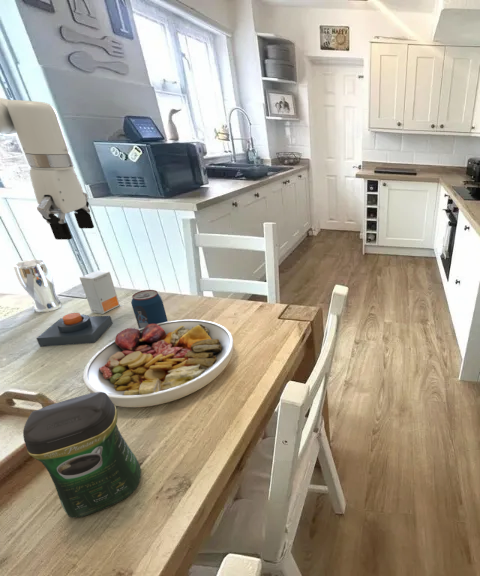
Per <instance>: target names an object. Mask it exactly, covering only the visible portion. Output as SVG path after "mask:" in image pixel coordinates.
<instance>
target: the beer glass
mask: <svg viewBox="0 0 480 576" xmlns="http://www.w3.org/2000/svg"><path fill="white" fill-rule="evenodd" d="M12 265H13V268H14V269H13V270H14V272H15V276H16V277H17V279H18V282H19V283H20V286H22V288H23V290H24V291H25V292H26V293H27V294H28V296H29V297H30V298H31V300H32V303H33V307H34V311H35V312H36V313H40V312H42V314H43V313H49V311H50V312H54V311H56V310H58V309H61V308H62V306H63V303H62V302H61V300H60V299H59V297H58V296H57V292H56V287H55V281H54V276H53V274H52V271H51V269H50V267H49V265H48V264H47V261H46V260H45V259H42V258H33V259H27V260H26V259H25V260H21V261H18V262H16V263H14V264H12Z"/></svg>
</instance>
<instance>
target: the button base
mask: <svg viewBox="0 0 480 576" xmlns="http://www.w3.org/2000/svg"><path fill="white" fill-rule="evenodd" d="M80 315H81V317H82V321H81V322H78V323H75V324H71V325H65V323H64V321H63V317H61V318H59V319H58V320H57V321H56V322H54V323H53V324H52V325H50V326H49V327H48V328H46V330H44V331H42V333H41V334H40V335H38V336H37V337H36V341H37V343H38V345H39V347H41V348H42V347H55V346H72V345H84V344H85V345H87V344H95V343H96V342H97V341H98V340H99V339H100V338H101V337H102V336H103V334H105V333H106V331H107V330H108V329H109V328H110V327H111V326H112V325H113V323H114V321H113V319H112V317H111V315H96V316H95V315H94V316H93V315H92V316H90V315H87V314H84V313H83V314H81V313H80Z"/></svg>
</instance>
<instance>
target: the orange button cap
mask: <svg viewBox="0 0 480 576" xmlns="http://www.w3.org/2000/svg"><path fill="white" fill-rule="evenodd" d="M62 318H63V321H64V323H65V325H71V324H75V323H78V322H81V321H82V317H81V313H80V312H71V313H68V314H65V315H64V316H62Z"/></svg>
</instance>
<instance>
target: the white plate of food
mask: <svg viewBox="0 0 480 576" xmlns="http://www.w3.org/2000/svg"><path fill="white" fill-rule="evenodd" d="M234 345H235V344H234V338H233V334H231V332H230V330H228V329H227V328H226V327H225V326H223V325H222V324H219V323H217V322H214V321H211V320H210V321H209V320H203V319H178V320H169V321H168V322H164V323H159V324H153V323H152V324H149V325H147V326H146V327H144V328H141V329H139V328H135V327H129V328H125V329H123V330H121V331H120V332H119V333H117V334H116V336H115V339H114V340H113V341H111V342H109V343H107V344H106V345H105V346H103V347H102V348H101V349H99V350H98V351H97V352H96V353H95V354H94V355H93V356H92V357H91V358H90V359H89V361H88V362H87V364H86V366H84V370H83V375H82V378H83V382H84V385H85V387H86V390H87V391H88V392H89V394H90V393H95V392H104V393H106V394H107V395H108V397H109V398H110V400H111V401H112V402H113V404H114V405H115V406H116V407H122V408H144V407H145V408H146V407H153V406H158V405H162V404H166V403H170V402H174V401H177V400H179V399H183V398H184V397H186V396H189V395H191V394H193V393H195V392H197V391H199V390H200V389H202V388H204V387H205V386H207V385H209V384H210V383H211V382H213V381H214V380H215V379H217V377H219V375H221V374H222V373H223V371H224V370H225V369H226V367H227V366H228V364H229V363H230V361H231V359H232V356H233V353H234V347H235V346H234Z"/></svg>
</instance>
